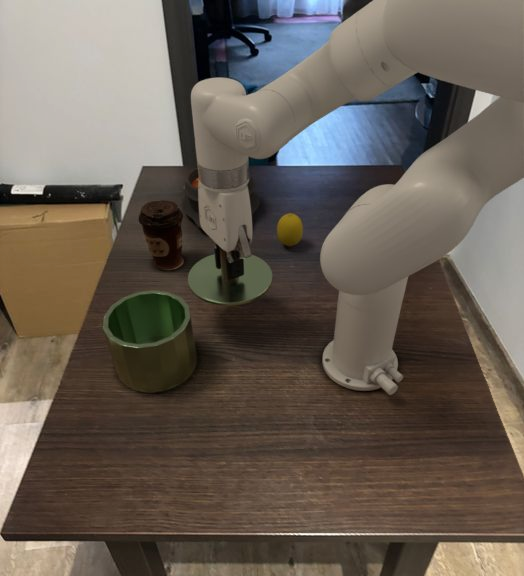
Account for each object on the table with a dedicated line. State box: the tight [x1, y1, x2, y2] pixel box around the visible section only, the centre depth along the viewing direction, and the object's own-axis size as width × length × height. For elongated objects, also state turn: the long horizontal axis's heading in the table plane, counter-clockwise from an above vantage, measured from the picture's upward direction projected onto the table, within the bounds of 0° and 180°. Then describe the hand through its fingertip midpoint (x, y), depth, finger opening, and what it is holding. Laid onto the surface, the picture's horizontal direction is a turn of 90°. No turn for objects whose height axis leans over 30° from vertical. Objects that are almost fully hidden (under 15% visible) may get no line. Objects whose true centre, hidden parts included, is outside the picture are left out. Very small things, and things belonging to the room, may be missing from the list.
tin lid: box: [187, 247, 273, 307], centre depth 90 cm, size 15×15×7 cm
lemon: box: [276, 212, 304, 248], centre depth 112 cm, size 6×6×8 cm
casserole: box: [181, 167, 260, 229], centre depth 124 cm, size 25×19×8 cm
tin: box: [102, 289, 198, 394], centre depth 87 cm, size 14×14×10 cm
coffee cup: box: [138, 199, 184, 271], centre depth 107 cm, size 9×8×13 cm
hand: (229, 270), depth 91 cm, fingers closed on tin lid, 3 cm apart
